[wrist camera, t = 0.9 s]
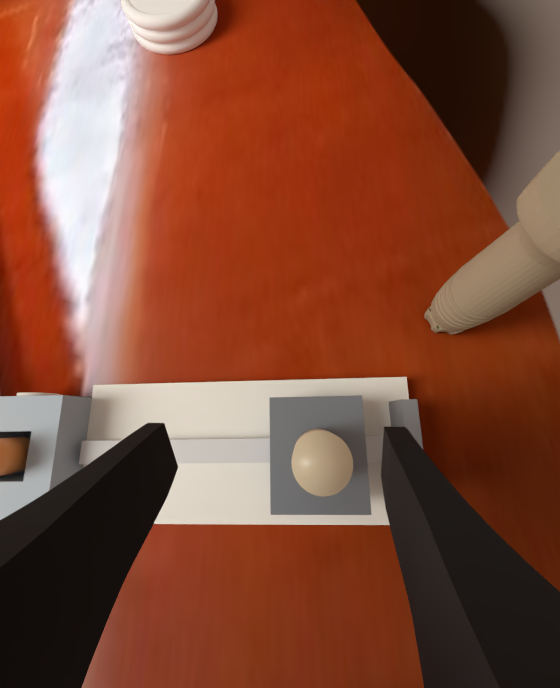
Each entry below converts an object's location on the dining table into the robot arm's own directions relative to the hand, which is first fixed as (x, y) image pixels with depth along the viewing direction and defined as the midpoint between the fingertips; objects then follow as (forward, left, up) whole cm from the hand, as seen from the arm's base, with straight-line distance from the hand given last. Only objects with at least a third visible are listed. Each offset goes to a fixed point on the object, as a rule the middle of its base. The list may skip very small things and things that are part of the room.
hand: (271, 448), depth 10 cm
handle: (+9, -13, -15) cm, 22 cm away
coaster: (+46, +12, -15) cm, 50 cm away
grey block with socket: (-1, +19, -14) cm, 24 cm away
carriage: (-1, -2, -13) cm, 13 cm away
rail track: (-1, +3, -14) cm, 15 cm away
